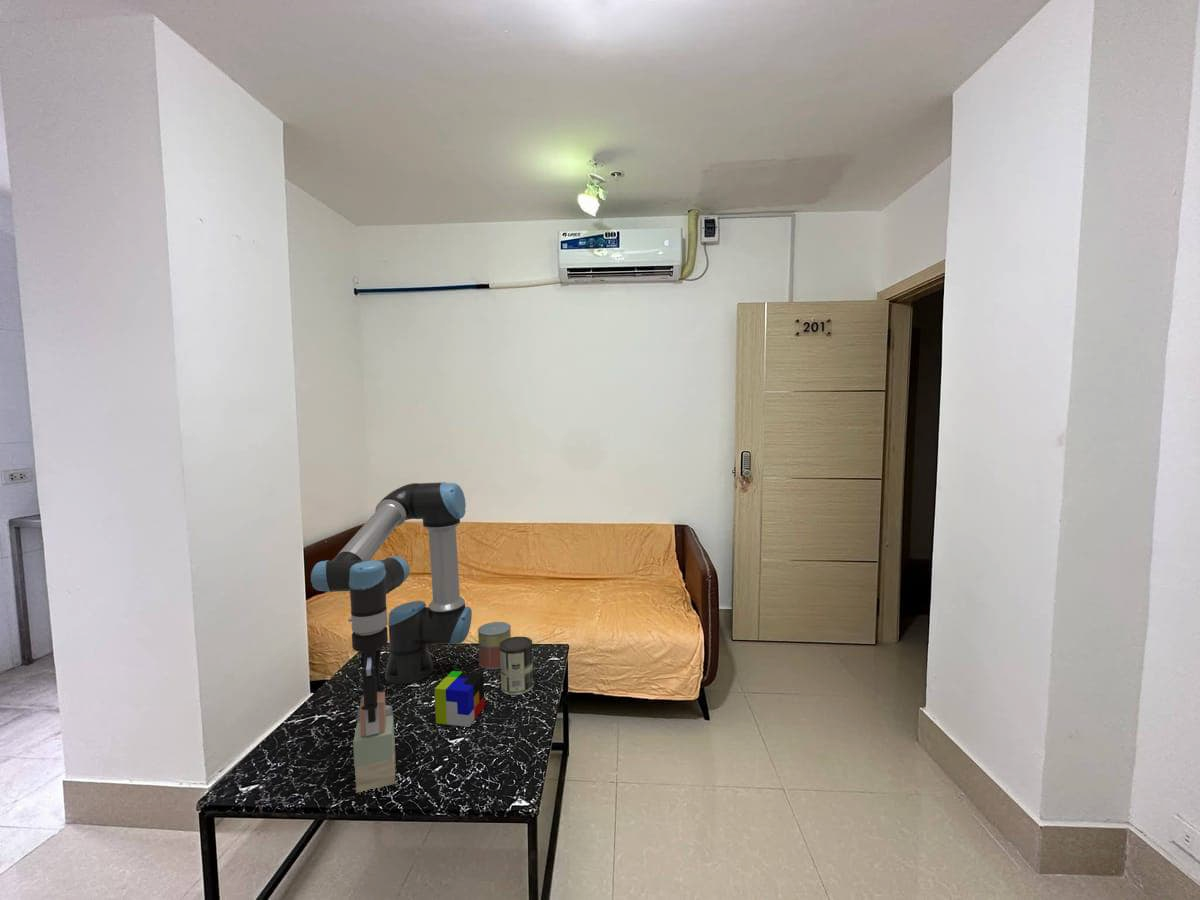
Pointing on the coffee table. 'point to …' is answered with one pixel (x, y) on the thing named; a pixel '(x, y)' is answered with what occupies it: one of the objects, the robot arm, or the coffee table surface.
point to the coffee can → (516, 665)
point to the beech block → (375, 775)
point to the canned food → (492, 643)
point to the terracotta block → (381, 714)
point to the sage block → (374, 745)
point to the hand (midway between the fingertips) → (373, 726)
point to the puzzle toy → (459, 698)
